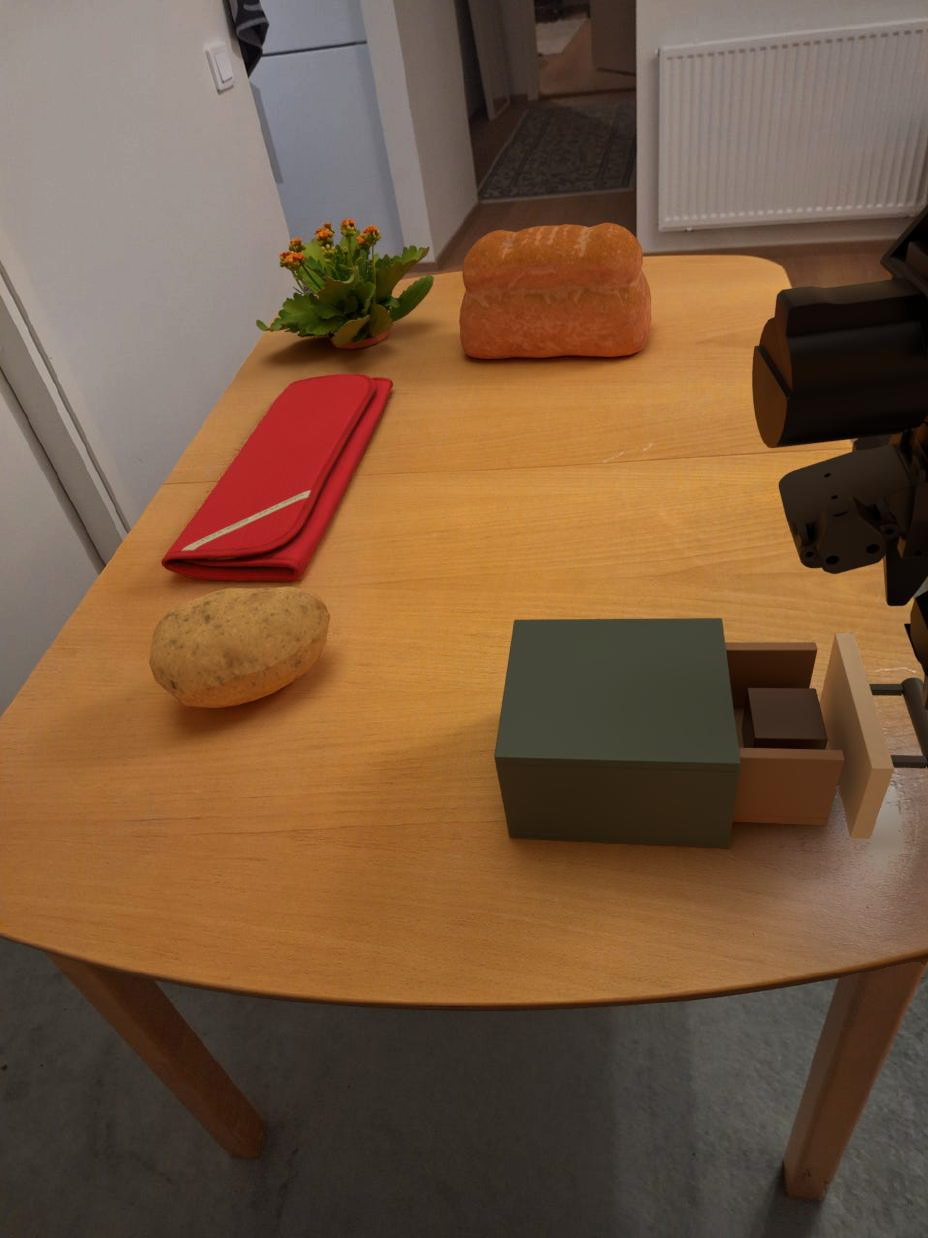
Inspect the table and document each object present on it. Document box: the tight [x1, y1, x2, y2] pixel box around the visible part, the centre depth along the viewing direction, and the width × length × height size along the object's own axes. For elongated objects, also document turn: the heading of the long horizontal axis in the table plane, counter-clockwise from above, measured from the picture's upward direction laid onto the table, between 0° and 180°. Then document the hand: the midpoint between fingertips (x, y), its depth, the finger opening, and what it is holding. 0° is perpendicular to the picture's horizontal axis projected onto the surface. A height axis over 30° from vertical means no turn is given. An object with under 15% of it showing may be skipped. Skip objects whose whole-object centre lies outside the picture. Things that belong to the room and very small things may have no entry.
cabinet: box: [493, 617, 741, 850], centre depth 56 cm, size 15×13×9 cm
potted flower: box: [255, 218, 435, 350], centre depth 120 cm, size 25×24×18 cm
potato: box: [148, 586, 331, 709], centre depth 68 cm, size 10×14×10 cm
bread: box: [458, 222, 652, 360], centre depth 109 cm, size 14×26×15 cm, turn 75°
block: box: [742, 687, 828, 750], centre depth 54 cm, size 4×4×4 cm
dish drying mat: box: [160, 373, 394, 583], centre depth 96 cm, size 16×41×4 cm, turn 171°
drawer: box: [725, 632, 928, 840], centre depth 54 cm, size 18×11×7 cm, turn 82°
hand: (913, 652), depth 48 cm, fingers open, 8 cm apart
